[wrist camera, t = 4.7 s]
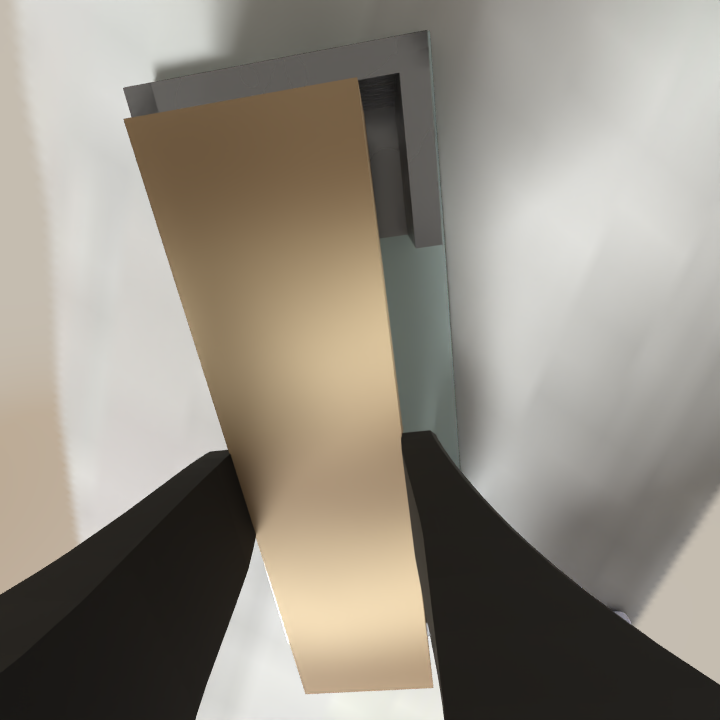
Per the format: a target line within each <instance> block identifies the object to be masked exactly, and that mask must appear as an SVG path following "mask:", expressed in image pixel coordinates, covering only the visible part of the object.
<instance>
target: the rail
mask: <svg viewBox="0 0 720 720" xmlns="http://www.w3.org/2000/svg"><path fill="white" fill-rule="evenodd" d="M124 123H125V126H126V129H127V132H128V135H129V138H130V142H131V145H132V148H133V151H134V154H135V157H136V160H137V164H138V167H139V170H140V173H141V176H142V179H143V183H144V186H145V189H146V192H147V195H148V198H149V201H150V205H151V208H152V211H153V214H154V217H155V220H156V224H157V227H158V230H159V233H160V236H161V239H162V242H163V246H164V249H165V252H166V255H167V258H168V261H169V265H170V268H171V271H172V274H173V277H174V280H175V283H176V287H177V290H178V293H179V296H180V299H181V302H182V306H183V309H184V312H185V315H186V318H187V321H188V325H189V328H190V331H191V334H192V337H193V340H194V343H195V347H196V350H197V353H198V356H199V359H200V362H201V366H202V369H203V372H204V375H205V378H206V381H207V384H208V388H209V391H210V394H211V397H212V400H213V403H214V407H215V410H216V413H217V416H218V419H219V422H220V425H221V429H222V432H223V435H224V438H225V441H226V444H227V448H228V451H229V454H231V457H232V460H233V464H234V467H235V470H236V473H237V476H238V479H239V483H240V486H241V489H242V492H243V495H244V498H245V502H246V505H247V508H248V511H249V514H250V517H251V521H252V524H253V527H254V530H255V533H256V539H257V542H258V545H259V549H260V552H261V555H262V558H263V561H264V564H265V567H266V571H267V574H268V577H269V580H270V583H271V586H272V590H273V593H274V596H275V599H276V602H277V605H278V608H279V612H280V615H281V618H282V621H283V624H284V627H285V631H286V634H287V637H288V640H289V643H290V646H291V650H292V653H293V656H294V659H295V662H296V665H297V668H298V672H299V675H300V678H301V681H302V684H303V687H304V691H305V694H319V693H339V692H359V691H380V690H400V689H420V688H433V680H432V671H431V663H430V654H429V645H428V636H427V627H426V618H425V609H424V601H423V596H422V591H421V586H420V580H419V575H418V570H417V565H416V560H415V553H414V545H413V537H412V529H411V521H410V513H409V505H408V497H407V489H406V482H405V474H404V466H403V458H402V450H401V437H402V433H403V426H402V418H401V410H400V401H399V393H398V385H397V377H396V369H395V361H394V353H393V344H392V336H391V328H390V320H389V312H388V304H387V296H386V287H385V279H384V271H383V263H382V255H381V247H380V239H379V230H378V222H377V214H376V206H375V198H374V190H373V182H372V173H371V165H370V157H369V149H368V141H367V133H366V124H365V116H364V111H363V106H362V100H361V95H360V90H359V84H358V79H357V77H355V78H349V79H344V80H338V81H333V82H327V83H321V84H316V85H310V86H305V87H299V88H294V89H288V90H282V91H277V92H271V93H266V94H260V95H254V96H249V97H243V98H238V99H232V100H227V101H221V102H215V103H210V104H204V105H199V106H193V107H188V108H182V109H176V110H171V111H165V112H160V113H154V114H148V115H143V116H137V117H132V118H126V119H124Z"/></svg>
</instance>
